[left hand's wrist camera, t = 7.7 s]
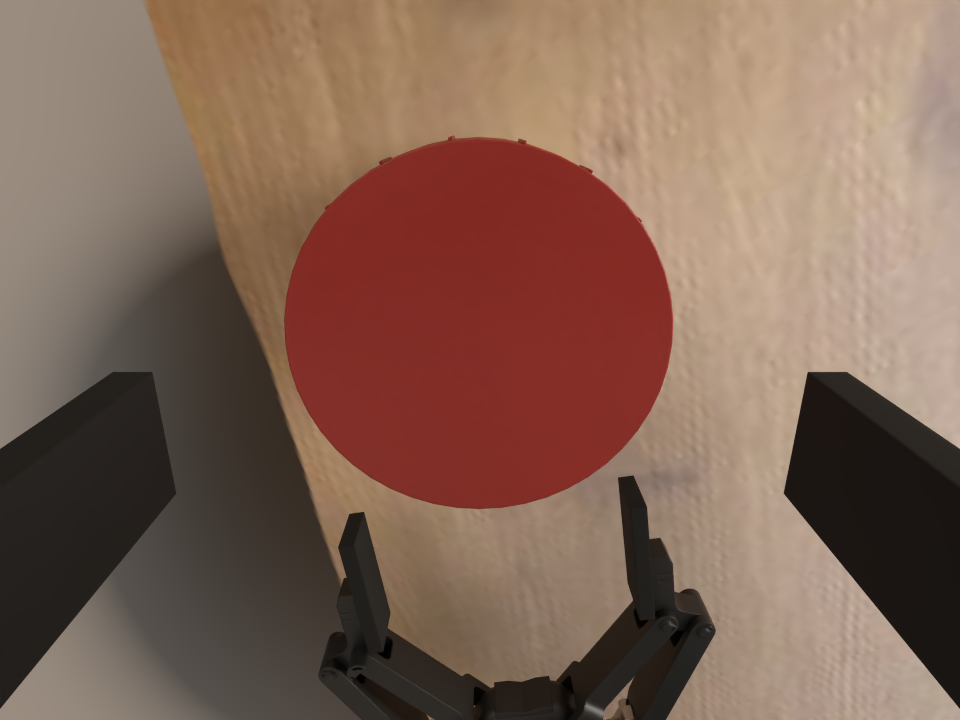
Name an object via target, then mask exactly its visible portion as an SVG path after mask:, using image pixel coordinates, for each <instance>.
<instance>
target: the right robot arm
mask: <svg viewBox="0 0 960 720" xmlns="http://www.w3.org/2000/svg"><path fill="white" fill-rule="evenodd" d="M618 482H619V493H620V503H621V514H622V525H623V536H624V547H625V558H626V569H627V580H628V585H629V588H630V591H631V594H632V598H633V602H632V603H631V604H630V605H629V606H628V607H627V608H626V610H625V611H624V612H623V613H622V614H621V615H620V617H619V618H618V619H617V620H616V621H615V622H614V623H613V625H612V626H611V627H610V628H609V629H608V630H607V631H606V633H605V634H604V635H603V636H602V637H601V638H600V640H599V641H598V642H597V643H596V644H595V645H594V646H593V648H592V649H591V650H590V651H589V652H588V653H587V655H586V656H585V657H584V658H583V659H582V660H581V661H580V662H577V661H573V662H572V663H571V664H570V666H569V667H568V668H567V669H566V670H565V671H564V673H563V674H562V675H561V676H560V677H559V678H558V679H557V681H551V680H550V679H549V676H545V677H537V678H533V679H530V680H527V681H524V682H515V681H503V682H495V683H494V685H495V687H493V688H490V687H488V686H487V685H485V684H484V683H482V682H481V681H479V680H478V679H476V678H474V677H473V676H471V675H470V674H465V675H464V676H460V675H459V674H457V673H456V672H454V671H452V670H451V669H449V668H448V667H446V666H445V665H443V664H442V663H440V662H439V661H437V660H435V659H434V658H432V657H431V656H429V655H428V654H426V653H425V652H423V651H422V650H420V649H419V648H417V647H415V646H414V645H412V644H411V643H409V642H408V641H406V640H405V639H403V638H402V637H400V636H398V635H397V634H395V633H394V632H392V631H391V630H389V629H388V623H389V618H390V609H389V606H388V602H387V598H386V594H385V590H384V586H383V583H382V579H381V575H380V571H379V567H378V563H377V560H376V556H375V552H374V548H373V544H372V541H371V537H370V533H369V529H368V525H367V521H366V518H365V514H364V512H360V513H353V514H349V517H348V520H347V523H346V526H345V529H344V532H343V535H342V538H341V541H340V544H339V547H338V548H339V552H340V555H341V559H342V562H343V566H344V569H345V573H346V576H347V578H344V580H343V583H342V586H341V590H340V593H339V597H338V601H337V609H338V612H339V614H340V619H341V621H342V625H343V629H344V632H345V633H343V632H335V633H333V634H332V635H330V637H329V640H328V644H327V647H326V650H325V654H324V657H323V661H322V664H321V668H320V671H319V674H318V675H319V679H320V680H321V682H323V683H324V684H325V685H326V686H327V687H328V688H329V689H330V690H331V691H332V692H333V693H334V694H335V695H336V696H337V697H338V698H339V699H341V700H342V701H343V702H344V703H345V704H346V705H347V706H348V707H349V708H350V709H351V710H352V711H353V712H354V713H355V714H356V715H357V716H359V717H360V718H361V719H362V720H429V719H428V717H427V715H428V716H430V717H432V718H433V719H435V720H603V715H604V710H605V708H606V707H607V706H608V705H609V703H610V702H611V701H612V700H613V699H614V698H615V697H616V696H617V695H618V694H619V693H620V691H621V690H622V689H623V688H624V687H625V686H626V685H627V684H628V683H629V682H630V681H631V679H632V678H633V677H634V676H635V677H634V679H633V681H632V683H631V685H630V687H629V691H628V696H627V699H624V698H623V699H620V700H619V702H618V704H619V708H618V709H617V711H616V713H615V715H614V716H613V717H612V718H610V719H608V720H666V718H667V717H668V715H669V713H670V711H671V710H672V708H673V706H674V704H675V703H676V701H677V699H678V697H679V696H680V694H681V692H682V690H683V689H684V687H685V685H686V683H687V682H688V680H689V678H690V676H691V675H692V673H693V671H694V670H695V668H696V666H697V664H698V663H699V661H700V659H701V657H702V656H703V654H704V652H705V650H706V649H707V647H708V645H709V643H710V642H711V640H712V638H713V636H714V635H715V631H716V630H715V627H714V624H713V622H712V620H711V618H710V616H709V614H708V612H707V609H706V607H705V605H704V603H703V601H702V599H701V596H700V594H699V593H698V592H697V591H696V590H694V589H685V590H683V591H681V592H680V593H677V592H674V580H673V579H674V578H673V563H672V561H671V559H670V557H669V554H668V552H667V550H666V547H665V545H664V544H663V542H662V540H661V538H656V539H649V529H648V516H647V506H646V504H645V501H644V499H643V497H642V495H641V492H640V490H639V488H638V485H637V483H636V481H635V478H634V476H627V477H619V478H618ZM474 705H475V707H474ZM426 714H427V715H426Z"/></svg>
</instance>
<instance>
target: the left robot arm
mask: <svg viewBox="0 0 960 720" xmlns="http://www.w3.org/2000/svg"><path fill="white" fill-rule="evenodd" d="M175 494H176V490H175V485H174V480H173V475H172V470H171V465H170V460H169V455H168V450H167V444H166V440H165V435H164V429H163V424H162V419H161V414H160V409H159V404H158V399H157V394H156V389H155V384H154V379H153V374H152V372H113V373H111V374H110V375H108V376H107V377H105V378H104V379H102V380H101V381H99V382H98V383H96V384H95V385H93V386H92V387H90V388H89V389H88V390H86V391H85V392H83V393H82V394H80V395H79V396H77V397H76V398H74V399H73V400H71V401H70V402H68V403H67V404H66V405H64V406H63V407H61V408H60V409H58V410H57V411H55V412H54V413H52V414H51V415H49V416H48V417H46V418H45V419H44V420H42V421H41V422H39V423H38V424H36V425H35V426H33V427H32V428H30V429H29V430H27V431H26V432H24V433H23V434H21V435H20V436H19V437H17V438H16V439H14V440H13V441H11V442H10V443H8V444H7V445H5V446H4V447H3V448H1V449H0V708H1V707H2V706H3V705H4V703H5V702H6V701H7V700H8V698H9V697H10V696H11V695H12V694H13V692H14V691H15V690H16V689H17V687H18V686H19V685H20V684H21V683H22V681H23V680H24V679H25V678H26V676H27V675H28V674H29V673H30V672H31V670H32V669H33V668H34V667H35V665H36V664H37V663H38V662H39V660H40V659H41V658H42V657H43V656H44V654H45V653H46V652H47V651H48V650H49V648H50V647H51V646H52V645H53V643H54V642H55V641H56V640H57V638H58V637H59V636H60V635H61V634H62V632H63V631H64V630H65V629H66V628H67V626H68V625H69V624H70V623H71V621H72V620H73V619H74V618H75V617H76V615H77V614H78V613H79V612H80V610H81V609H82V608H83V607H84V606H85V604H86V603H87V602H88V601H89V599H90V598H91V597H92V596H93V595H94V593H95V592H96V591H97V590H98V588H99V587H100V586H101V585H102V584H103V582H104V581H105V580H106V579H107V577H108V576H109V575H110V574H111V573H112V571H113V570H114V569H115V568H116V566H117V565H118V564H119V563H120V562H121V560H122V559H123V558H124V557H125V555H126V554H127V553H128V552H129V551H130V549H131V548H132V547H133V546H134V544H135V543H136V542H137V541H138V540H139V538H140V537H141V536H142V535H143V533H144V532H145V531H146V530H147V528H148V527H149V526H150V525H151V524H152V522H153V521H154V520H155V519H156V518H157V516H158V515H159V514H160V513H161V511H162V510H163V509H164V508H165V506H166V505H167V504H168V503H169V502H170V500H171V499H172V498H173V497H174V496H175ZM784 494H785V496H786V497H787V498H788V499H789V500H790V502H791V503H792V504H793V505H794V507H795V508H796V509H797V510H798V511H799V513H800V514H801V515H802V516H803V518H804V519H805V520H806V521H807V522H808V524H809V525H810V526H811V527H812V529H813V530H814V531H815V532H816V533H817V535H818V536H819V537H820V538H821V540H822V541H823V542H824V543H825V544H826V546H827V547H828V548H829V549H830V551H831V552H832V553H833V554H834V555H835V557H836V558H837V559H838V560H839V562H840V563H841V564H842V565H843V566H844V568H845V569H846V570H847V571H848V573H849V574H850V575H851V576H852V577H853V579H854V580H855V581H856V582H857V584H858V585H859V586H860V587H861V588H862V590H863V591H864V592H865V593H866V595H867V596H868V597H869V598H870V599H871V601H872V602H873V603H874V604H875V606H876V607H877V608H878V609H879V610H880V612H881V613H882V614H883V615H884V617H885V618H886V619H887V620H888V621H889V623H890V624H891V625H892V626H893V628H894V629H895V630H896V631H897V632H898V634H899V635H900V636H901V637H902V639H903V640H904V641H905V642H906V643H907V645H908V646H909V647H910V648H911V650H912V651H913V652H914V653H915V654H916V656H917V657H918V658H919V659H920V661H921V662H922V663H923V664H924V665H925V667H926V668H927V669H928V670H929V672H930V673H931V674H932V675H933V676H934V678H935V679H936V680H937V681H938V683H939V684H940V685H941V686H942V687H943V689H944V690H945V691H946V692H947V694H948V695H949V696H950V697H951V698H952V700H953V701H954V702H955V703H956V705H957V706H958V707H959V708H960V449H959V448H958V447H956V446H955V445H953V444H952V443H950V442H949V441H947V440H946V439H944V438H943V437H941V436H940V435H939V434H937V433H936V432H934V431H933V430H931V429H930V428H928V427H927V426H925V425H924V424H922V423H921V422H919V421H918V420H916V419H915V418H914V417H912V416H911V415H909V414H908V413H906V412H905V411H903V410H902V409H900V408H899V407H897V406H896V405H894V404H893V403H892V402H890V401H889V400H887V399H886V398H884V397H883V396H881V395H880V394H878V393H877V392H875V391H874V390H872V389H871V388H870V387H868V386H867V385H865V384H864V383H862V382H861V381H859V380H858V379H856V378H855V377H853V376H852V375H850V374H849V373H848V372H808V374H807V379H806V384H805V389H804V394H803V399H802V404H801V409H800V414H799V419H798V424H797V429H796V434H795V439H794V444H793V450H792V455H791V460H790V465H789V470H788V475H787V480H786V485H785V490H784Z"/></svg>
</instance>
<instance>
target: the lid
mask: <svg viewBox="0 0 960 720" xmlns="http://www.w3.org/2000/svg"><path fill="white" fill-rule="evenodd" d="M379 163H380V165H379V166H378V167H376V168H374V169H372V170H370V171H369V172H368V173H366V174H365V175H364V176H362V177H361V178H359V179H358V180H357V181H355V182H354V183H353V184H351V185H350V186H349V187H348V188H347V189H346V190H345V191H344V192H343V193H342V194H341V195H340V196H338V197H337V198H336V199H335V200H334V201H333V202H332V203H331V204H329V205H327V206H326V208H325V209H326V211H325V212H324V213H323V215H322V216H321V217H320V218H319V220H318V221H317V222H316V224H315V225H314V227H313V228H312V230H311V232H310V234H309V235H308V237H307V239H306V241H305V243H304V244H303V246H302V248H301V250H300V253H299V256H298V258H297V261H296V263H295V266H294V268H293V271H292V275H291V279H290V283H289V288H288V292H287V297H286V308H285V319H284V323H285V343H286V349H287V355H288V360H289V365H290V369H291V372H292V376H293V379H294V382H295V385H296V388H297V391H298V393H299V395H300V397H301V399H302V401H303V403H304V405H305V407H306V409H307V411H308V413H309V414H310V416H311V417H312V419H313V421H314V422H315V424H316V425H317V427H318V428H319V430H320V431H321V432H322V434H323V435H324V436H325V437H326V438H327V439H328V441H329V442H330V443H331V444H332V445H333V446H334V448H335V449H336V450H337V451H338V452H339V453H341V454H342V455H343V456H344V457H345V458H346V459H347V460H348V461H349V462H350V463H351V464H353V465H354V466H355V467H357V468H358V469H360V470H361V471H362V472H364V473H365V474H366V475H368V476H369V477H371V478H372V479H374V480H376V481H378V482H380V483H381V484H383V485H385V486H387V487H389V488H390V489H393V490H395V491H397V492H400V493H402V494H405V495H407V496H410V497H412V498H415V499H419V500H422V501H426V502H429V503H433V504H438V505H444V506H450V507H456V508H473V509H485V508H502V507H508V506H514V505H520V504H525V503H529V502H532V501H536V500H539V499H542V498H546V497H548V496H551V495H553V494H556V493H558V492H560V491H563V490H565V489H568V488H569V487H571V486H573V485H575V484H576V483H578V482H580V481H582V480H584V479H585V478H587V477H589V476H590V475H591V474H593V473H594V472H596V471H597V470H598V469H600V468H601V467H602V466H604V465H605V464H606V463H607V462H609V461H610V460H611V459H612V458H613V457H614V456H615V455H616V454H617V453H618V452H619V451H620V450H621V449H623V447H624V446H625V445H626V444H627V443H628V442H629V440H630V439H631V438H632V437H633V436H634V434H635V433H636V432H637V431H638V429H639V428H640V426H641V425H642V423H643V422H644V420H645V419H646V417H647V415H648V414H649V412H650V411H651V409H652V407H653V404H654V402H655V400H656V398H657V396H658V394H659V392H660V390H661V387H662V384H663V381H664V378H665V374H666V371H667V368H668V364H669V358H670V353H671V347H672V336H673V312H672V302H671V294H670V289H669V285H668V281H667V277H666V273H665V269H664V267H663V264H662V262H661V259H660V257H659V254H658V252H657V249H656V247H655V245H654V243H653V242H652V240H651V238H650V236H649V235H648V233H647V231H646V229H645V228H644V226H643V224H642V223H641V222H642V221H641V219H640V218H638V217H636V215H635V214H634V213H633V211H632V210H631V209H630V208H629V206H628V205H627V204H626V203H625V202H624V201H623V200H622V199H621V198H620V197H619V196H618V195H617V194H616V193H615V192H614V191H613V190H612V189H611V188H610V187H609V186H607V185H606V184H605V183H603V182H602V181H601V180H599V179H598V178H597V177H595V176H594V175H592V172H593V171H592V170H591V169H589V168H586V167H584V166H582V165H580V166H578V165H576V164H574V163H572V162H570V161H569V160H567V159H565V158H563V157H561V156H559V155H556V154H554V153H552V152H549V151H546V150H543V149H541V148H538V147H535V146H532V145H529V144H526V141H525V140H522V139H518V142H516V141H512V140H507V139H499V138H484V137H473V138H459V139H455V136H451V137H449V138H448V140H446V141H441V142H437V143H432V144H428V145H425V146H423V147H420V148H417V149H414V150H412V151H409V152H406V153H404V154H401V155H399V156H396V157H394V158H391V157H389V158H386V159H384V160H381V161H380V162H379Z"/></svg>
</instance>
